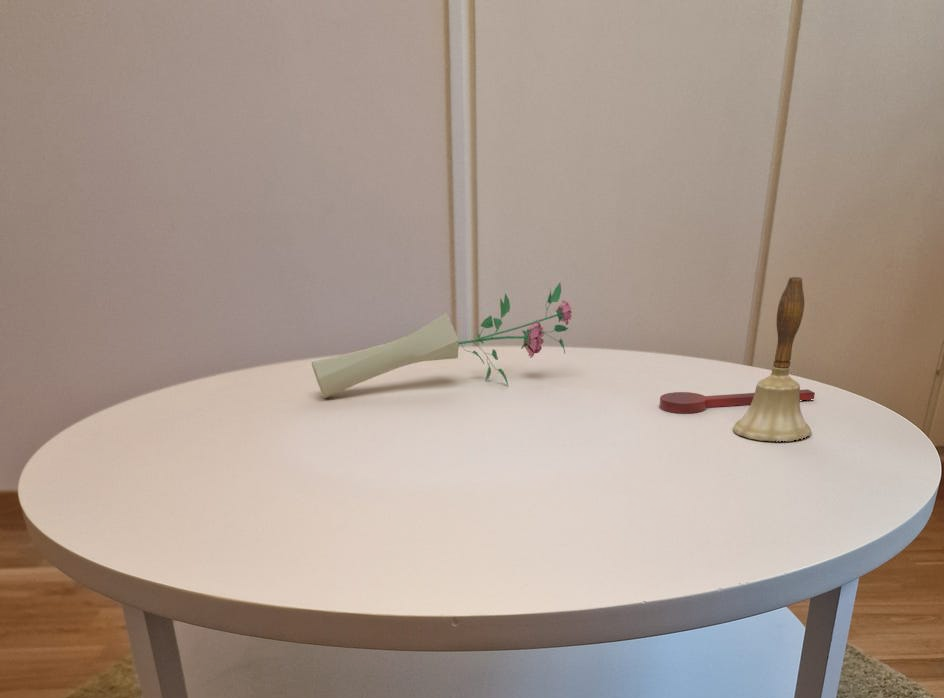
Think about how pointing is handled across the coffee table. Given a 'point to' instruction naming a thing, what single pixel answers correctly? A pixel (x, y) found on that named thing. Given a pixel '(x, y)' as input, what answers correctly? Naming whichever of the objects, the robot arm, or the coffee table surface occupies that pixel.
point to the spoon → (710, 401)
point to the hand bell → (779, 381)
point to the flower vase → (426, 349)
